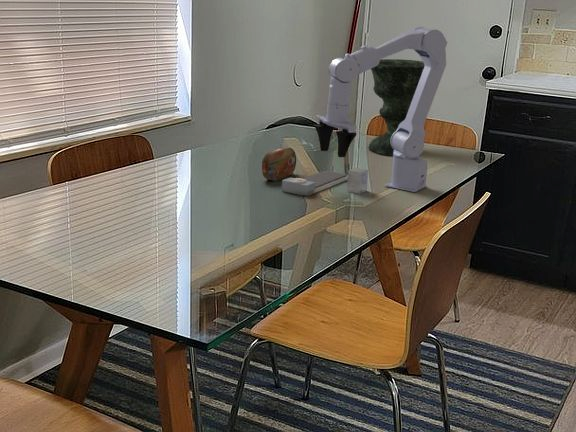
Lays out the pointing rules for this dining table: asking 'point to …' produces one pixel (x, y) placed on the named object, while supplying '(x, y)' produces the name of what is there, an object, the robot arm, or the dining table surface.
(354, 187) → the block
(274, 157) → the tin
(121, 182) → the dining table surface
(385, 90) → the goblet
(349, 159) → the dining table surface
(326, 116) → the robot arm
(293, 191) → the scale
